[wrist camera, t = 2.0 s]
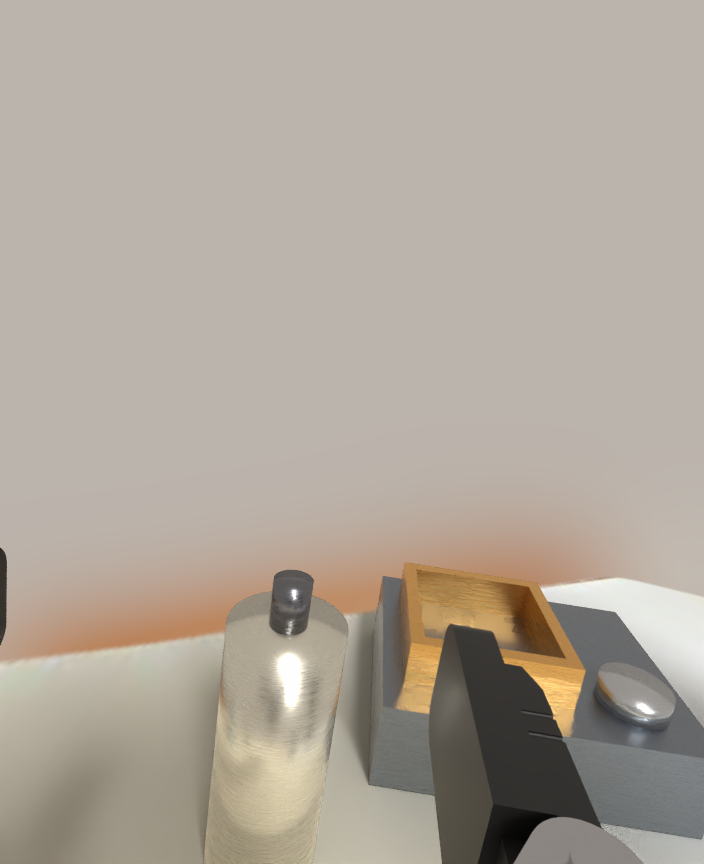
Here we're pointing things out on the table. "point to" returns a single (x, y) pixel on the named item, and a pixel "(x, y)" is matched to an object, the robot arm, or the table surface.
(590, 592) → the table surface
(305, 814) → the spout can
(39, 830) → the table surface
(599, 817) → the grey base with tray
